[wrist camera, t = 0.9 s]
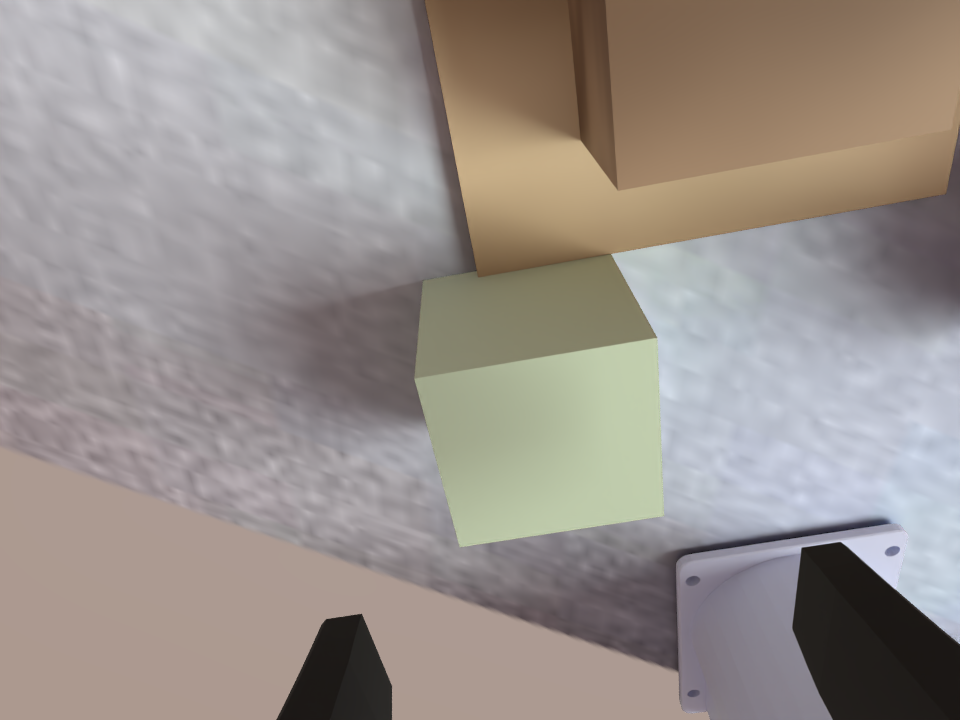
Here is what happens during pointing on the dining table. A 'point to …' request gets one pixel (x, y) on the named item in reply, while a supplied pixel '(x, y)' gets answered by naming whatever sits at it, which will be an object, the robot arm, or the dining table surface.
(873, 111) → the walnut block
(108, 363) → the dining table surface
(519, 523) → the green cube
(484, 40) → the cork mat
